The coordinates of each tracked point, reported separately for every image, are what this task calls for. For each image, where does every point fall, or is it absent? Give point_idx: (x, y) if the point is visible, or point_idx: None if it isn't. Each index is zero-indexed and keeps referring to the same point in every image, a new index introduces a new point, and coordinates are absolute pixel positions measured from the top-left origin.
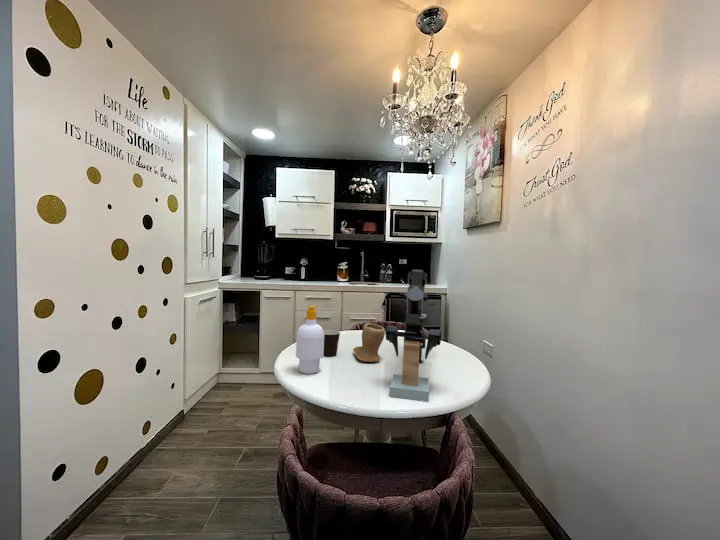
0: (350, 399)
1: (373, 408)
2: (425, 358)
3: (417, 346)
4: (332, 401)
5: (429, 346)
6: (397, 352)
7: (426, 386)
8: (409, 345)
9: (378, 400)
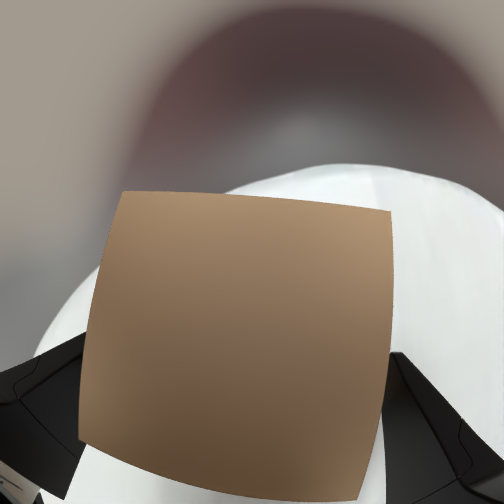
0: (459, 224)
1: (388, 175)
2: None
3: (157, 200)
4: (485, 205)
5: (26, 366)
6: (403, 366)
7: None
8: (287, 207)
9: None
